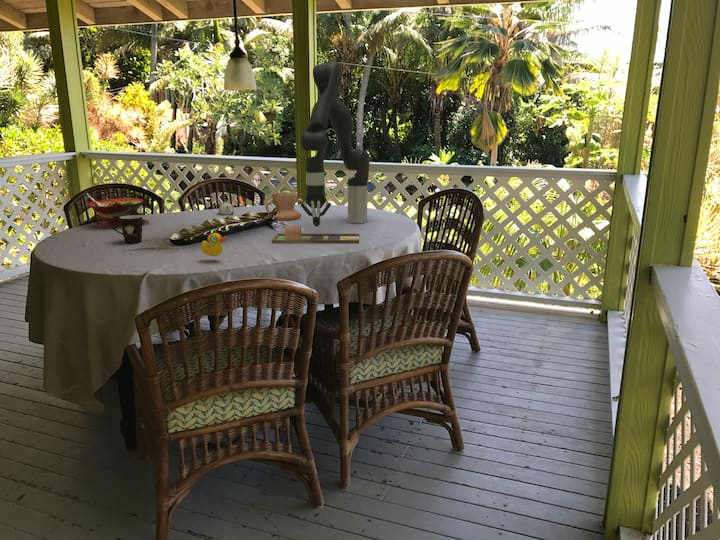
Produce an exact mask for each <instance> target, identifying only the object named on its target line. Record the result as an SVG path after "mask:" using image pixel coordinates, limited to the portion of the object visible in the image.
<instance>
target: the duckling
mask: <svg viewBox="0 0 720 540" xmlns="http://www.w3.org/2000/svg"><path fill="white" fill-rule="evenodd" d="M226 241H227V236H226V235H225V236H224V237H222V235H221V234H220V233H218V232H212V233H211V234H210V235H208V236H207V240H202V242H201V244H200V246H201V247H200V249H201V251H202V253H203V254H204V255H207V256H209V257H217V256H219V255H221V254H222V252H223V251H224V248H223V245H222V244H223V243H225V242H226ZM208 242H209V243H208ZM209 244H210V245H209Z"/></svg>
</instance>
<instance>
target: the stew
mask: <svg viewBox="0 0 720 540" xmlns="http://www.w3.org/2000/svg"><path fill="white" fill-rule="evenodd" d="M85 194H86V195H87V197H88V198H89V199H90V200H91V201H90V202H89V203H88V206H89V207H90V208H91V209H92V210H93V211H94V212H95V213H97V214H98V216H99V218H101V219H102V220H99V221H98V222H94V223H93V225H94V226H96V227H97V226H98V227H102V228H103V227H104V228H106V227H107V228H112V227H111V222H112V221H114V220H118V221H120V218H119V217H122V216H129V215H135V213H136V212H137V211H138V209H140V208H141V206H142V205H143V203H144V202H145V200H144V199H143V198H131V197H122V198H108V199H102V200H96V199H94V198H93V197H92V196H91V195H90V194H89V193H88V192H85ZM103 222H104V223H106V224H107V225H100V224H103ZM149 223H150V221H149V220H148V219H144V218H142V225H143V226H147V225H148V224H149ZM112 226H113V227H114V228H115V229H116V228H120V227H121V225H120V223H119V222H113V224H112ZM121 228H122V227H121Z"/></svg>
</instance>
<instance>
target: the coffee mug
mask: <svg viewBox="0 0 720 540" xmlns="http://www.w3.org/2000/svg"><path fill="white" fill-rule="evenodd" d="M119 218H120V221H118V220H114V221H112V222H111V227H110V228H112V229H113V230H114V231H115V232H117V233H119V234H121V235H122V236H123V240H124V243H126V244H136V243H141V242H142V241H143V224H142V219H143V215H137V214H136V215H135V214H134V215H129V216H122V217H119ZM113 222H119V223H120V225H121V230H122V231H120V230H117V229H116V228H114V227H113V226H112V224H113Z"/></svg>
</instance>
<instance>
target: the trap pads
mask: <svg viewBox="0 0 720 540" xmlns="http://www.w3.org/2000/svg"><path fill="white" fill-rule="evenodd" d="M323 237H324V236H312V237H311V239H310V240H323ZM328 240H340V236H328Z"/></svg>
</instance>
